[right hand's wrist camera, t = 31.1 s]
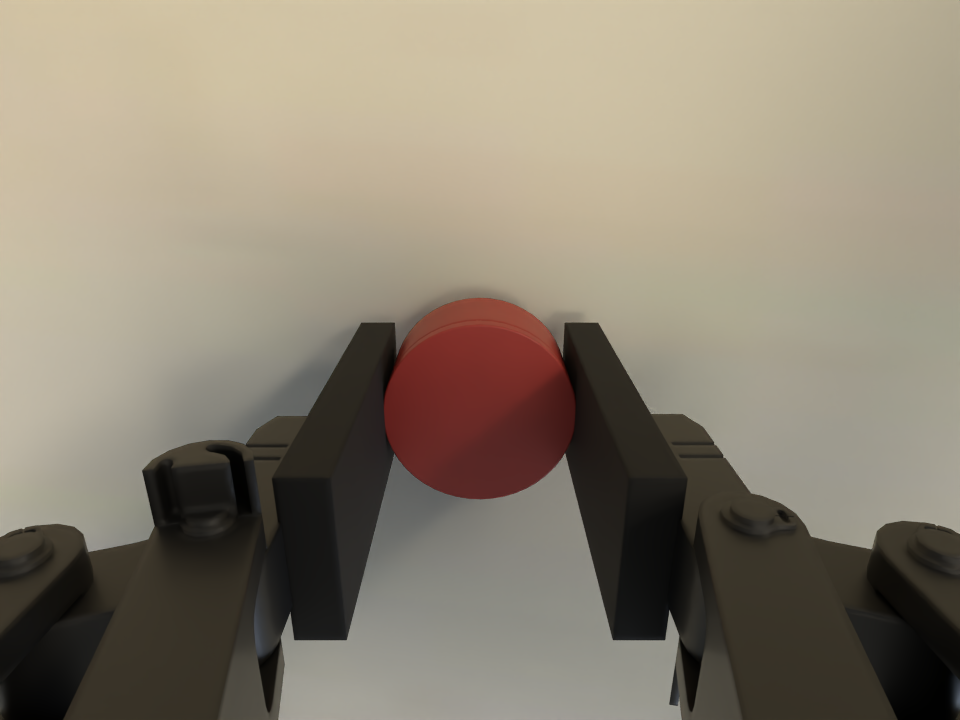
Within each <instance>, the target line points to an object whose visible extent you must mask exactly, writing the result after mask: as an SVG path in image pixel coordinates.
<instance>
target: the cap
mask: <svg viewBox="0 0 960 720" xmlns="http://www.w3.org/2000/svg"><path fill="white" fill-rule="evenodd" d="M575 410H576V399H575V393H574V390H573V387H572V384H571V381H570V378H569V375H568V372H567V369H566V366H565V363H564V361H563V358H562V355H561V352H560V349H559V347H558V345H557V343H556V341H555V339H554V338H553V336H552V335H551V333H550V332H549V330H548V329H547V328H546V327H545V326H544V325H543V324H542V322H540V321H539V320H538V319H537V318H536V317H535V316H533V315H532V314H530V313H529V312H527V311H526V310H524V309H522V308H520V307H518V306H516V305H514V304H511V303H508V302H505V301H501V300H496V299H489V298H471V299H464V300H459V301H455V302H452V303H449V304H446V305H443V306H441V307H439V308H437V309H435V310H434V311H432V312H431V313H429V314H428V315H426V316H425V317H424V318H422V319H421V320H420V321H419V322H418V323H417V324H416V325H415V326H414V327H413V328H412V330H411V331H410V332H409V334H408V335H407V337H406V338H405V340H404V341H403V344H402V346H401V348H400V350H399V353H398V356H397V359H396V361H395V364H394V367H393V370H392V373H391V376H390V379H389V381H388V385H387V388H386V391H385V395H384V418H385V431H386V435H387V439H388V441H389V443H390V446H391V448H392V450H393V451H394V453H395V455H396V456H397V458H398V459H399V461H400V462H401V463H402V464H403V465H404V467H405V468H406V469H407V470H408V471H409V472H410V473H411V474H412V475H414V476H415V477H416V478H417V479H419V480H420V481H421V482H423V483H424V484H426V485H428V486H430V487H432V488H433V489H436V490H438V491H440V492H443V493H445V494H449V495H452V496H456V497H462V498H468V499H491V498H498V497H503V496H507V495H510V494H514V493H517V492H519V491H521V490H524V489H526V488H528V487H530V486H531V485H533V484H535V483H537V482H538V481H539V480H541V479H542V478H543V477H545V476H546V475H547V474H548V473H549V472H550V471H551V470H552V469H553V468H554V467H555V466H556V465H557V463H558V462H559V461H560V460H561V458H562V457H563V455H564V454H565V452H566V450H567V449H568V446H569V444H570V442H571V439H572V437H573V433H574V426H575Z"/></svg>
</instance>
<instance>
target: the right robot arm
mask: <svg viewBox="0 0 960 720" xmlns="http://www.w3.org/2000/svg"><path fill="white" fill-rule="evenodd" d="M396 359H397V356H396V337H395V323H361V325H360V326H359V328H358V330H357V332H356V333H355V335H354V337H353V338H352V340H351V342H350V344H349V345H348V347H347V349H346V351H345V352H344V354H343V356H342V357H341V359H340V361H339V363H338V364H337V366H336V368H335V370H334V371H333V373H332V375H331V376H330V378H329V380H328V382H327V383H326V385H325V387H324V389H323V390H322V392H321V394H320V396H319V397H318V399H317V401H316V402H315V404H314V406H313V408H312V409H311V411H310V413H309V415H308V416H277V417H275V418H274V419H272V420H271V421H269V422H267V423H266V424H264V425H263V426H261V427H260V428H258V429H257V430H256V431H255V432H254V434H253V435H252V437H251V438H250V439H249V441H248V442H247V444H246V446H245V445H244V444H241V443H237V442H233V441H229V440H209V441H203V442H197V443H191V444H187V445H184V446H181V447H178V448H175V449H172V450H169V451H167V452H166V453H164V454H162V455H160V456H159V457H157V458H155V459H153V460H152V461H151V462H150V463H149V464H148V465H147V466H146V467H145V468H144V469H143V470H142V472H143V476H144V481H145V485H146V489H147V494H148V498H149V503H150V507H151V511H152V516H153V520H154V525H155V527H154V529H153V531H152V533H151V535H150V537H149V540H145V541H141V542H137V543H133V544H128V545H123V546H118V547H113V548H108V549H103V550H98V551H92V552H88V549H87V546H86V542H85V539H84V535H83V534H82V533H81V532H80V531H79V530H77V529H76V528H75V527H72V526H67V525H61V524H51V525H37V526H31V527H26V528H25V529H18V530H15V531H12V532H9V533H7V534H6V535H4V536H2V537H0V720H278V717H279V708H280V700H281V691H282V682H283V674H284V665H285V664H284V657H283V650H282V643H281V635H282V632H283V630H284V627H285V624H286V622H287V619H288V617H289V614H290V612H291V619H292V626H293V633H294V640H347V637H348V633H349V629H350V625H351V621H352V617H353V613H354V609H355V605H356V601H357V597H358V593H359V590H360V586H361V582H362V578H363V574H364V570H365V566H366V562H367V558H368V554H369V550H370V546H371V542H372V539H373V535H374V531H375V527H376V523H377V519H378V515H379V511H380V507H381V503H382V499H383V495H384V491H385V488H386V484H387V480H388V476H389V472H390V468H391V464H392V460H393V456H394V451H393V450H392V448H391V446H390V443H389V441H388V439H387V435H386V431H385V418H384V395H385V391H386V388H387V385H388V381H389V379H390V376H391V373H392V370H393V367H394V364H395V361H396ZM563 361H564V363H565V366H566V369H567V372H568V375H569V378H570V381H571V384H572V387H573V390H574V393H575V399H576V410H575V426H574V433H573V437H572V439H571V442H570V444H569V446H568V449H567V450H566V452H565V454H566V458H567V462H568V466H569V470H570V473H571V477H572V481H573V485H574V489H575V493H576V497H577V501H578V505H579V509H580V513H581V517H582V521H583V524H584V528H585V532H586V536H587V540H588V544H589V548H590V552H591V556H592V560H593V564H594V568H595V572H596V575H597V579H598V583H599V587H600V591H601V595H602V599H603V603H604V607H605V611H606V615H607V619H608V623H609V627H610V630H611V634H612V638H613V640H665V637H666V630H667V623H668V616H669V609H670V612H671V615H672V617H673V620H674V622H675V625H676V628H677V630H678V633H679V635H680V637H679V643H678V650H677V657H676V663H675V670H674V677H673V683H672V690H671V696H670V703H669V705H675V706H678V701H679V698H680V707H681V716H682V720H960V534H958V533H956V532H955V531H953V530H951V529H948V528H945V527H942V526H939V525H938V526H935V524H929V523H920V522H908V521H900V522H894V523H888V524H885V525H884V526H883V527H882V528H880V529H879V530H878V531H877V533H876V537H875V540H874V544H873V548H872V550H871V549H866V548H861V547H856V546H851V545H846V544H841V543H835V542H830V541H826V540H822V539H818V538H814V537H811V536H810V534H809V532H808V530H807V528H806V526H805V524H804V523H803V522H802V521H801V519H800V518H799V517H798V516H797V514H796V513H794V512H793V511H791V510H790V509H788V508H787V507H785V506H784V505H782V504H781V503H778V502H776V501H773V500H771V499H768V498H766V497H763V496H760V495H755V494H751V493H750V491H749V490H748V489H747V487H746V486H745V484H744V483H743V482H742V480H741V479H740V478H739V476H738V475H737V473H736V472H735V471H734V469H733V468H732V466H731V465H730V464H729V462H728V461H727V460H726V458H723V454H722V453H721V451H720V450H719V449H718V447H717V446H716V445H714V442H713V440H712V439H711V437H710V436H709V435H708V433H707V432H706V431H705V429H704V428H703V427H702V426H700V425H699V424H697V423H696V422H694V421H692V420H691V419H689V418H688V417H686V416H685V415H683V414H650V412H649V410H648V408H647V407H646V405H645V403H644V401H643V400H642V398H641V396H640V395H639V393H638V391H637V389H636V388H635V386H634V384H633V382H632V381H631V379H630V377H629V376H628V374H627V372H626V370H625V369H624V367H623V365H622V363H621V362H620V360H619V358H618V357H617V355H616V353H615V351H614V350H613V348H612V346H611V344H610V343H609V341H608V339H607V337H606V336H605V334H604V332H603V331H602V329H601V327H600V325H599V324H598V323H565V329H564V348H563Z"/></svg>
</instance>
